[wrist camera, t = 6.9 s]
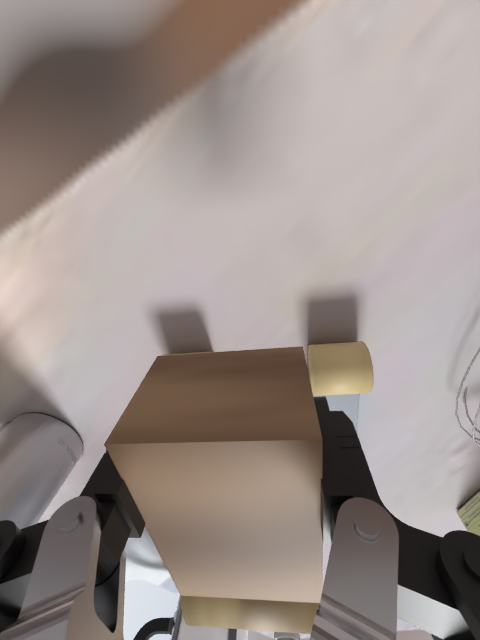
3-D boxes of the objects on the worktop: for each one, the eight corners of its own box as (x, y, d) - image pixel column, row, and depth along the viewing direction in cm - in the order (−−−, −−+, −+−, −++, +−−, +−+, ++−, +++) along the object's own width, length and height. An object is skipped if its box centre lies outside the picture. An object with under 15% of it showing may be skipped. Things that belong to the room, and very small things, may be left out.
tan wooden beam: (309, 532, 15) (324, 652, 12) (212, 530, 16) (195, 643, 12) (302, 346, 10) (325, 454, 6) (157, 356, 11) (95, 457, 7)
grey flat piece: (349, 466, 33) (360, 505, 29) (202, 468, 36) (194, 503, 32) (358, 332, 25) (375, 360, 21) (166, 345, 27) (150, 373, 23)
